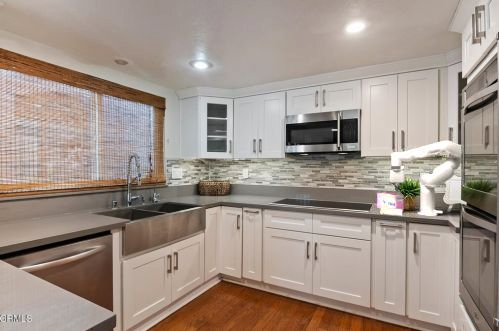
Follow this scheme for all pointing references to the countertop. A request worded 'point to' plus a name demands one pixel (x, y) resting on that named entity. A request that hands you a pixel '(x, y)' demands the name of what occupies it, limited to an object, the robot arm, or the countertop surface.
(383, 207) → the block
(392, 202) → the gum box
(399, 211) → the trap board
